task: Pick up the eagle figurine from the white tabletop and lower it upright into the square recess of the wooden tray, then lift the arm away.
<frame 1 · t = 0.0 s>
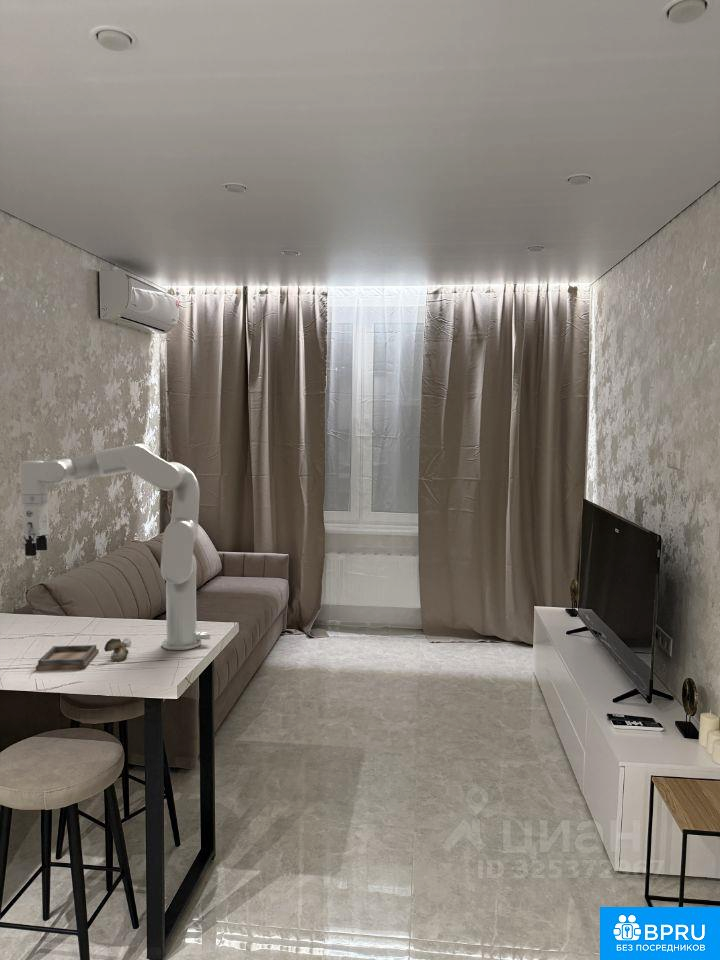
hand: (36, 552, 228), 31 cm above the table, fingers open, 9 cm apart
wooden tray: (68, 661, 218), on the table
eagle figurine: (117, 658, 222), on the table
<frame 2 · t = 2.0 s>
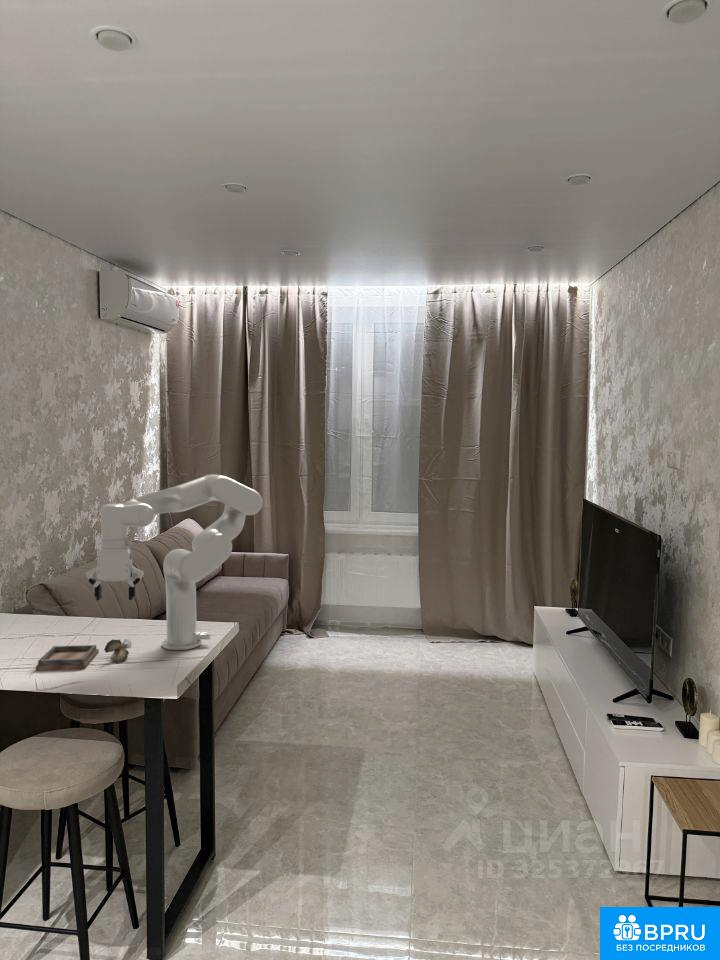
hand: (115, 599, 220), 18 cm above the table, fingers open, 9 cm apart
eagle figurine: (117, 659, 221), on the table
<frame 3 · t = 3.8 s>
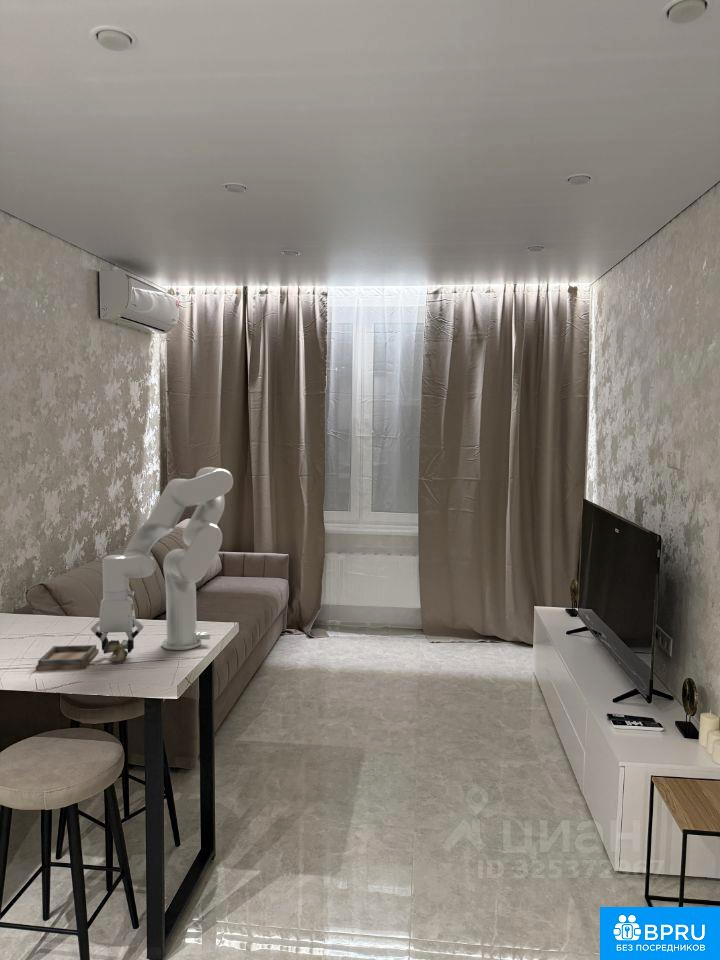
hand: (117, 651, 222), 2 cm above the table, fingers closed on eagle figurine, 6 cm apart
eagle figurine: (116, 660, 220), on the table, touching gripper
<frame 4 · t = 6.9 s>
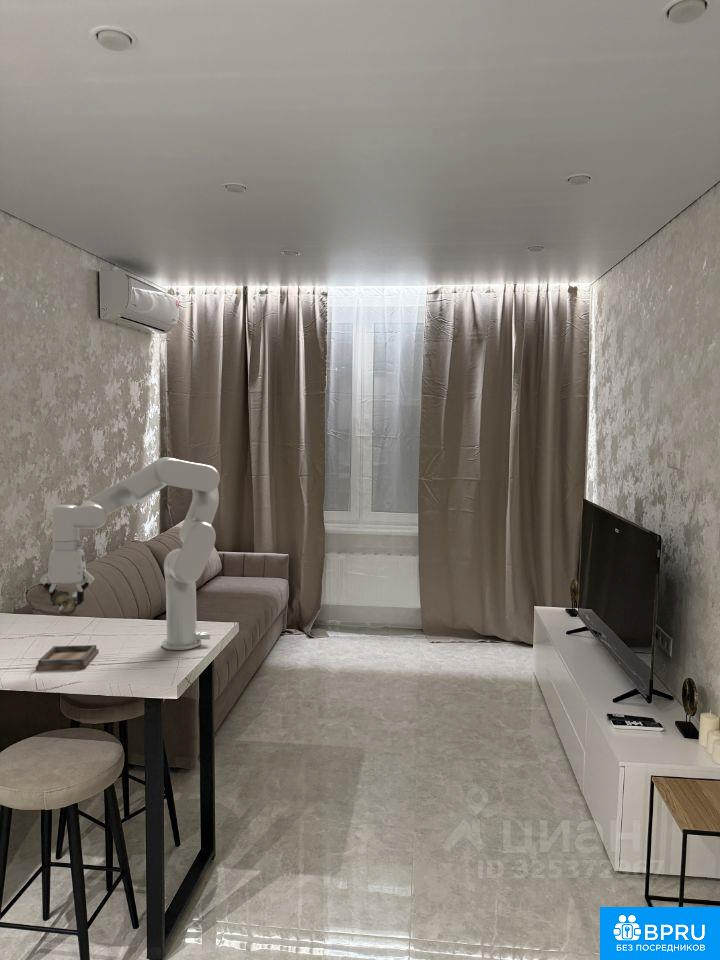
hand: (67, 603, 217), 18 cm above the table, fingers closed on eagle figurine, 6 cm apart
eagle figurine: (65, 611, 215), point 16 cm above the table, touching gripper
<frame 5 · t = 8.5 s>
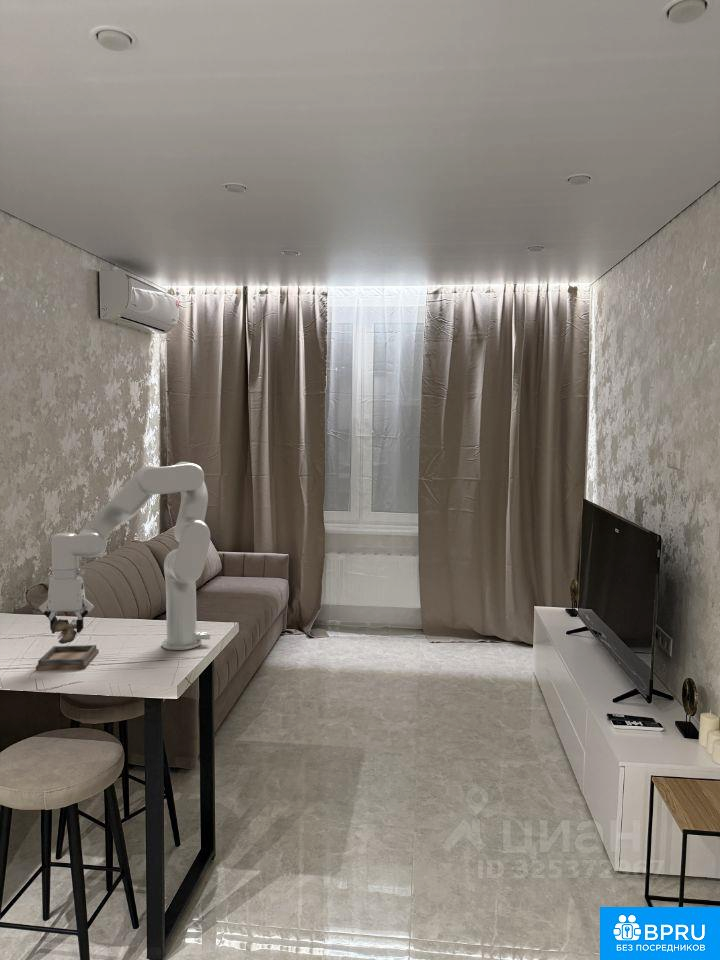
hand: (67, 631, 217), 9 cm above the table, fingers closed on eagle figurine, 6 cm apart
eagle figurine: (65, 639, 215), point 7 cm above the table, touching gripper
when the fingers open (4 cm above the table, at t = 10.0 s): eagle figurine stays where it is, resting on wooden tray.
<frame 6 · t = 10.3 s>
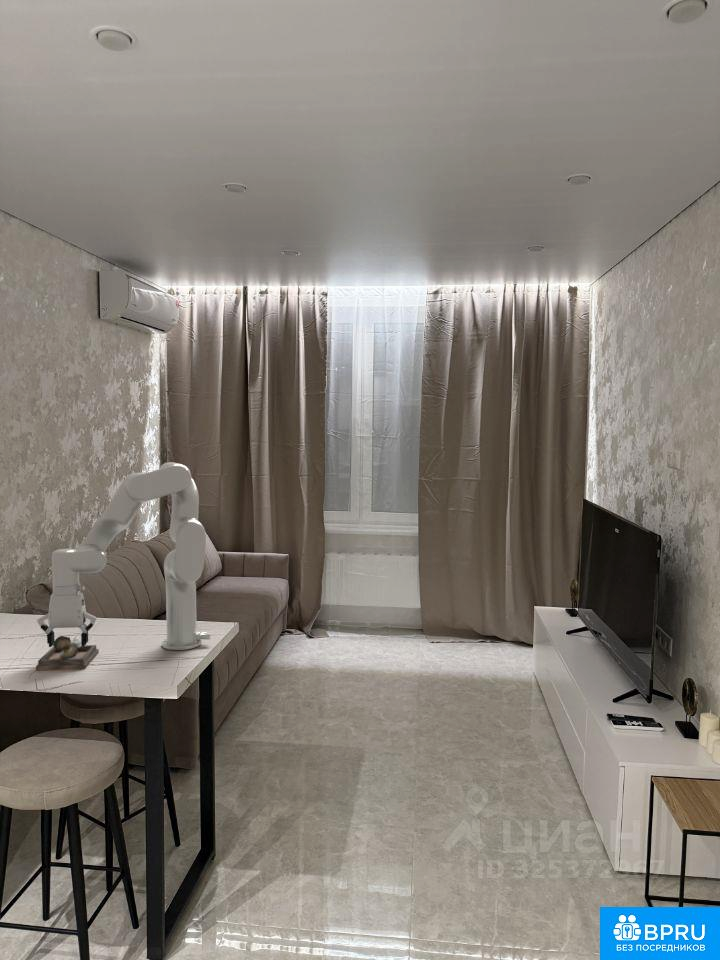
hand: (68, 645, 218), 5 cm above the table, fingers open, 9 cm apart
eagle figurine: (66, 657, 216), point 2 cm above the table, touching wooden tray
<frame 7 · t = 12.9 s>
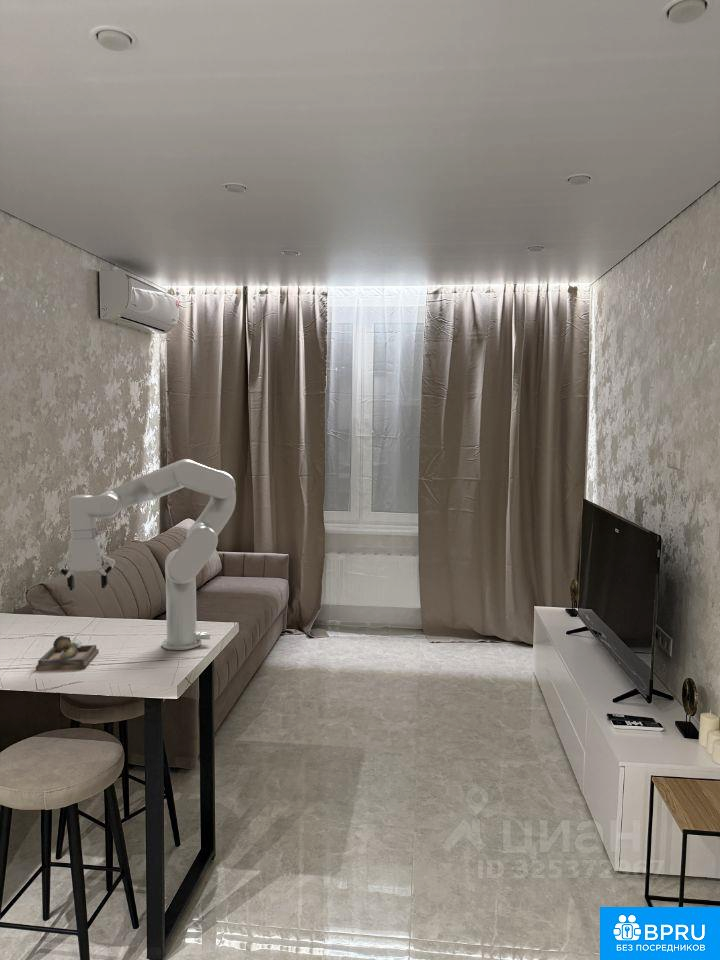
hand: (88, 588, 225), 21 cm above the table, fingers open, 9 cm apart
nothing on the table moved.
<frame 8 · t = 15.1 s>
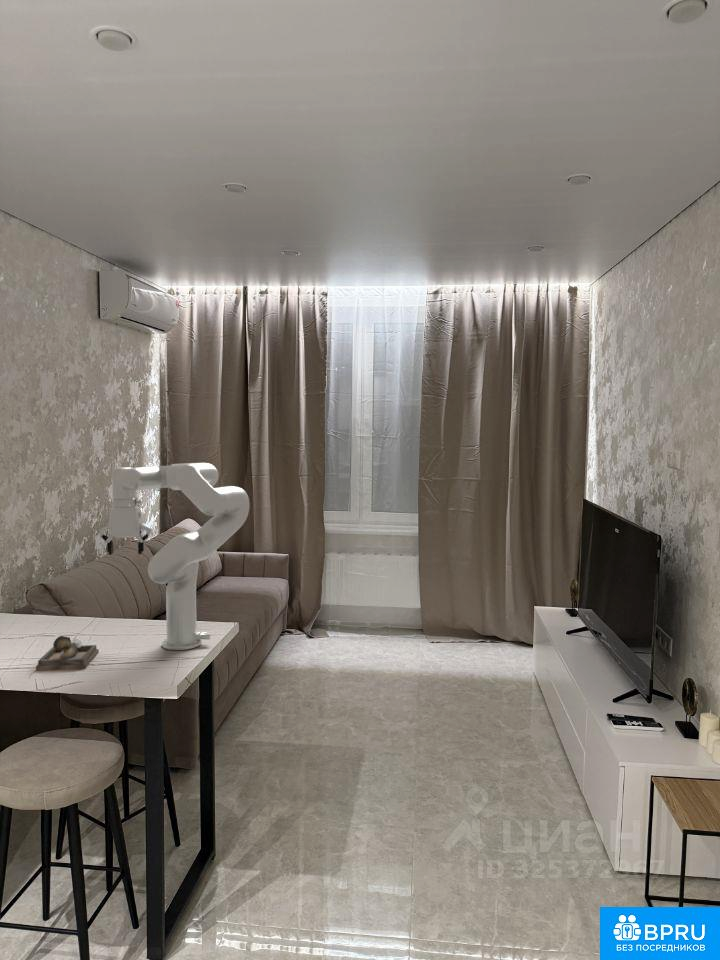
hand: (125, 553, 242), 28 cm above the table, fingers open, 9 cm apart
nothing on the table moved.
at the end: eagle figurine 2.2 cm off-centre on the wooden tray, point 1.8 cm above the wooden tray's base; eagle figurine tilted 11°; the gripper is holding nothing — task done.
